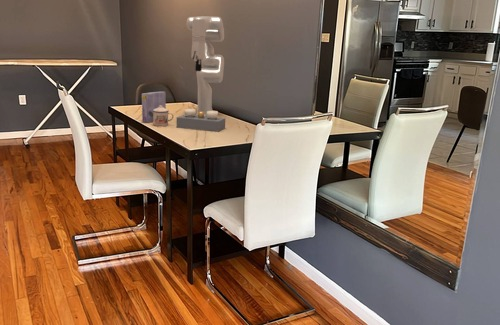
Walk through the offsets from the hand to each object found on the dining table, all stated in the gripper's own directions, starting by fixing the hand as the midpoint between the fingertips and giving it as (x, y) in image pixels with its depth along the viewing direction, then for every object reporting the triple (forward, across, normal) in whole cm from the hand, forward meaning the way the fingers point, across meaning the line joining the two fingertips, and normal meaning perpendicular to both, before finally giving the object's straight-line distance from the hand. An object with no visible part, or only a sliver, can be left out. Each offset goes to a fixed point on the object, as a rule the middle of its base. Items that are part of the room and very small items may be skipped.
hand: (198, 70), depth 276 cm
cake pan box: (+32, +5, -27) cm, 42 cm away
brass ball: (+26, +12, +7) cm, 29 cm away
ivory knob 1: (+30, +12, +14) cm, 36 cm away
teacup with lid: (+32, +15, -16) cm, 39 cm away
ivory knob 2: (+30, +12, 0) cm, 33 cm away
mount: (+32, +12, +7) cm, 35 cm away
